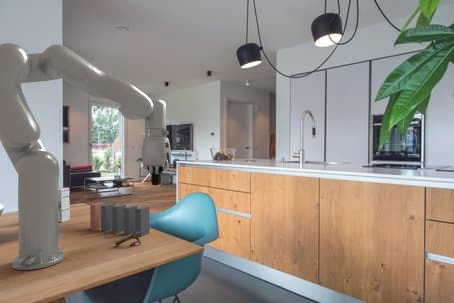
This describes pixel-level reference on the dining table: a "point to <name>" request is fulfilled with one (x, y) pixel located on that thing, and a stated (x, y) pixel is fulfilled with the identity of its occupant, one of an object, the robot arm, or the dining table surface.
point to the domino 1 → (95, 216)
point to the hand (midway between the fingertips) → (156, 184)
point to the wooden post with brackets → (128, 239)
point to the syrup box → (63, 204)
